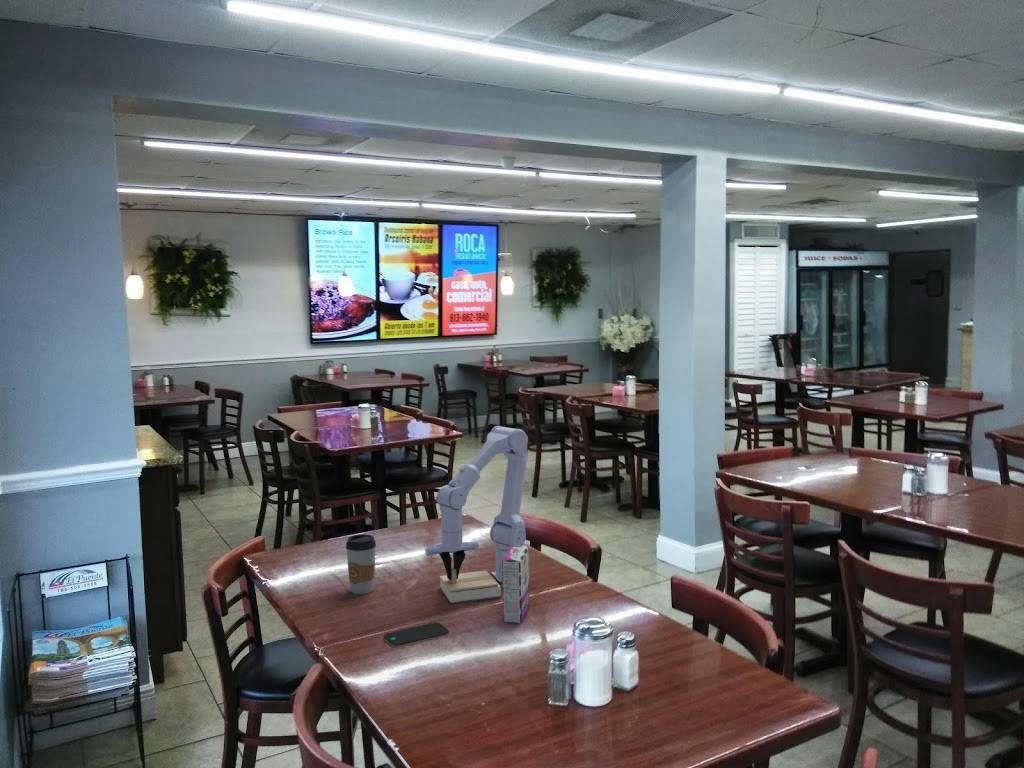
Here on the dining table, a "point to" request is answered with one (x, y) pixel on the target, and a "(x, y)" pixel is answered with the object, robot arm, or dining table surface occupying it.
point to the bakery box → (471, 594)
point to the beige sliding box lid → (468, 580)
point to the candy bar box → (515, 584)
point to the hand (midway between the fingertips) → (452, 578)
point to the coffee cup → (361, 563)
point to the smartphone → (416, 634)
